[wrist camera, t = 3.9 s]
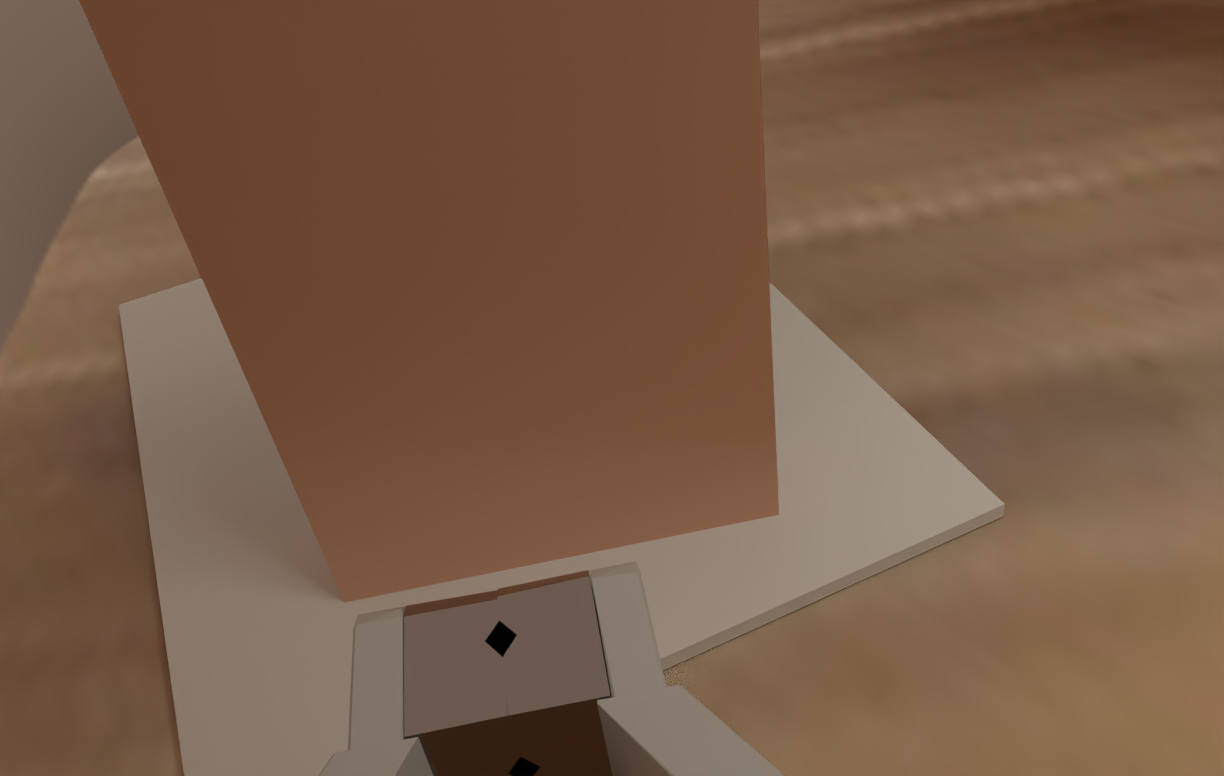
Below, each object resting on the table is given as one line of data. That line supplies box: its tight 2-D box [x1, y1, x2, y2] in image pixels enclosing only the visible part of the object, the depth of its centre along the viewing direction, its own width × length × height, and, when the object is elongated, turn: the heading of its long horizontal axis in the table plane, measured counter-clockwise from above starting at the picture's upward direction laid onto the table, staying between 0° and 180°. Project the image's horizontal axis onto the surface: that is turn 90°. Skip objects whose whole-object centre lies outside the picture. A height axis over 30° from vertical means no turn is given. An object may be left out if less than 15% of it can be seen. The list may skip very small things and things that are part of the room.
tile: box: [79, 0, 779, 602], centre depth 21 cm, size 2×10×14 cm, turn 99°
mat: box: [119, 278, 1005, 776], centre depth 30 cm, size 18×21×1 cm
